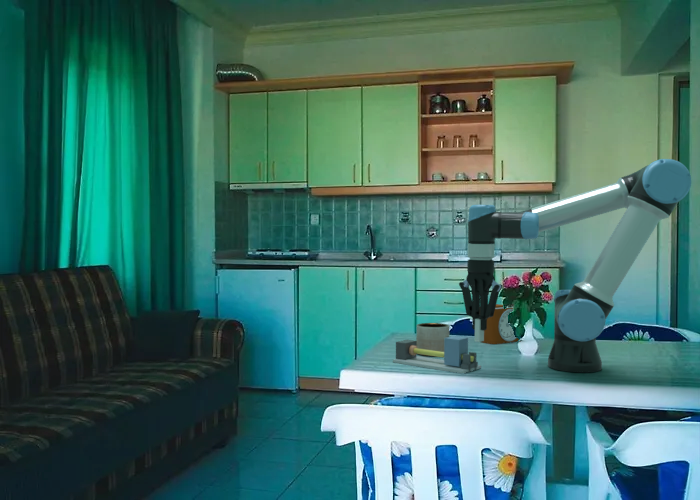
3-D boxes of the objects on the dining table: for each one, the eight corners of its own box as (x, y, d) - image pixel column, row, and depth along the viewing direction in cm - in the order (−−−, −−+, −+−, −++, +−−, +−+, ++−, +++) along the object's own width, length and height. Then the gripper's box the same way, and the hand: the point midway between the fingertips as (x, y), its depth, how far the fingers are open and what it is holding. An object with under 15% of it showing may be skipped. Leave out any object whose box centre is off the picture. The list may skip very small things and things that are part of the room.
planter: (448, 357, 210) (448, 327, 210) (414, 356, 212) (414, 326, 212) (450, 351, 221) (450, 323, 221) (417, 350, 223) (417, 322, 223)
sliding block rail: (481, 368, 194) (481, 347, 194) (463, 373, 186) (463, 352, 186) (410, 357, 210) (410, 338, 210) (391, 362, 203) (392, 342, 202)
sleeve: (467, 364, 194) (468, 337, 194) (459, 366, 190) (459, 339, 190) (453, 361, 197) (453, 336, 197) (444, 364, 193) (444, 338, 193)
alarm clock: (493, 345, 234) (494, 307, 234) (476, 341, 241) (477, 304, 241) (522, 341, 242) (523, 304, 242) (505, 338, 249) (505, 302, 249)
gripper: (507, 259, 186) (506, 342, 187) (467, 257, 195) (466, 337, 195) (495, 260, 180) (493, 345, 181) (454, 258, 189) (452, 340, 190)
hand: (479, 341), depth 188 cm, fingers closed
